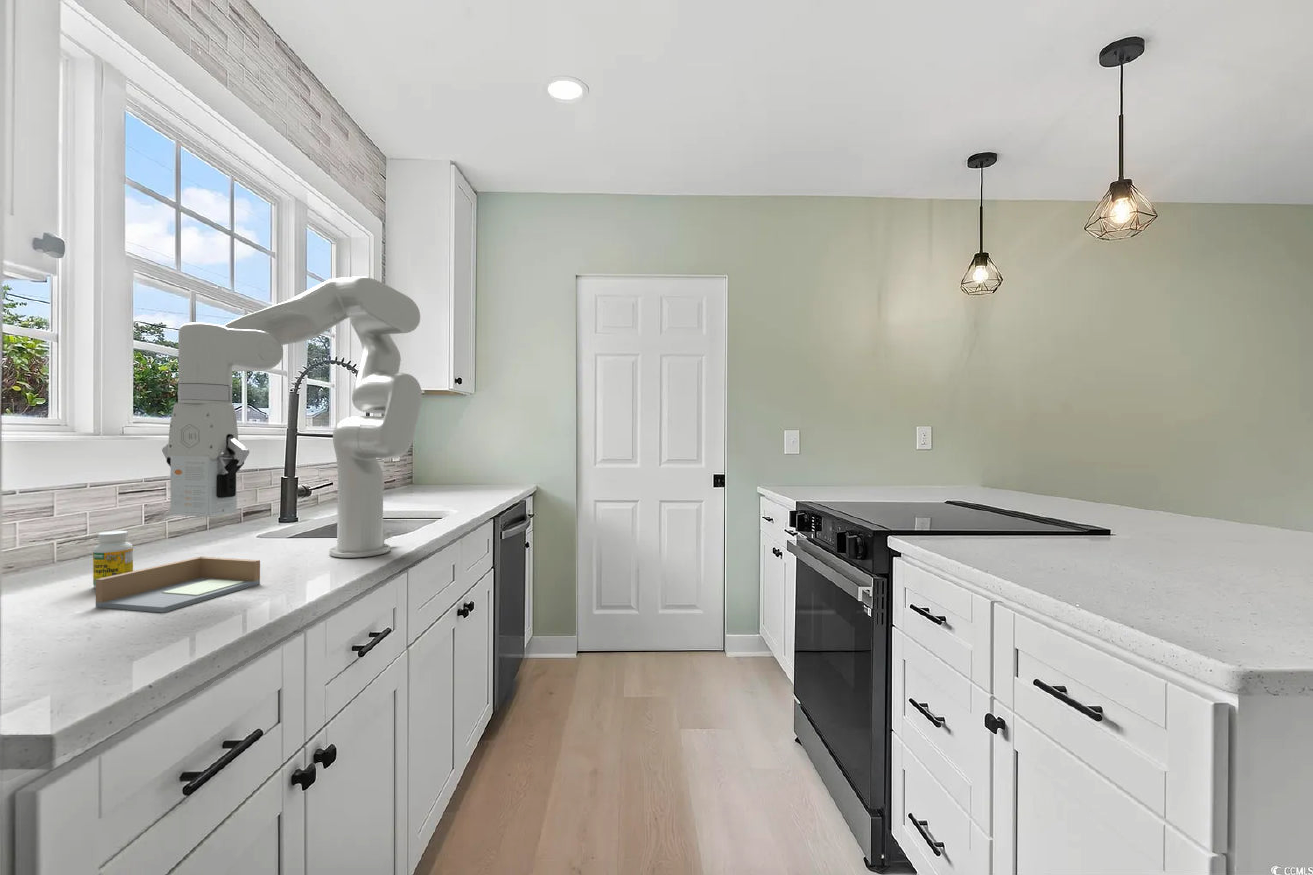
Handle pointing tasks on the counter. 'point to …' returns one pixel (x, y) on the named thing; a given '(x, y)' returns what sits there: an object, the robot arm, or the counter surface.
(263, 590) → the counter surface
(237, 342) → the robot arm
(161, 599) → the arena
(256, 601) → the counter surface
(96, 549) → the supplement bottle
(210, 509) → the small box
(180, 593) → the pad
